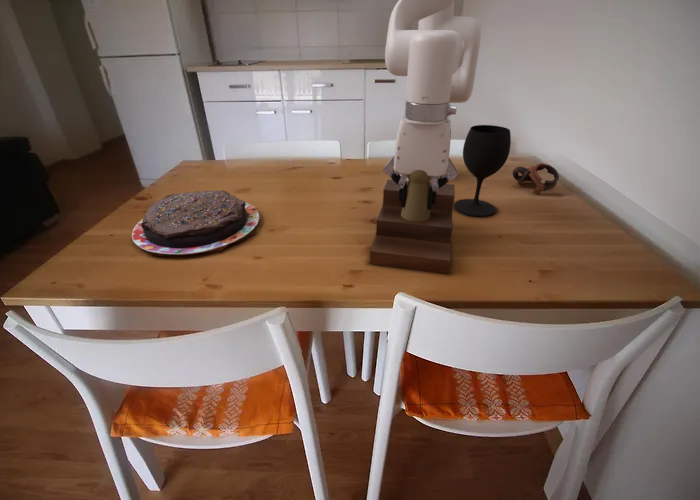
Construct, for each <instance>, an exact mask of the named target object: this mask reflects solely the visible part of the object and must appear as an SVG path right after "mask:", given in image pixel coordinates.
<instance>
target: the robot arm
mask: <svg viewBox="0 0 700 500" xmlns="http://www.w3.org/2000/svg"><path fill="white" fill-rule="evenodd" d="M455 2H456V0H397V2H396V4H395V5H394V7H393V9H392V11H391V14H390V16H389V21H388V25H387V26H388V27H387V33H386V40H385V49H384V63H385V66H386V69H387V71H388V73H390V74H391V75H393V76H397V77H406V89H405V90H406V91H405V102H404V103H405V104H404V116H403V117H401V118H400V121H399V124H398V128H397V134H396V140H395V148H394V154H393V156H391V158H390V159H389V160H388V161H387V163H386V164H385V165H384V167H383V168H382V172H383V173H385V174H386V175H387V176H388V177H390V178H391V180H393V181H394V182H395V183H396V184H397V185H398V187H399V188H400V189H399V202H402V204H401V207H405V200H406V191H407V183H406V181H409V179H408V178H407V177H408V175H409V174H411V173H412V172H413V171H415V170H422V171H425V172H426V173H427V175H428V176H431V180H430V183H431V187H430V189H429V198H428V206H427V209H428V210H431V204H432V205H435V200H436V192H437V191H438V189H439V188H441V187H442V186H443V185H445V184H448V183H449V182H450V181H453V180H454V179H456V178H458V176H459V171H458V169H457V168H456V167H455V165H454V164H453V162H452V160H451V158H450V151H451V140H452V124H451V123H452V122H451V120H450V119H448V117H450V116H452V115H456V114H457V108H458V105H457V106H453V105H451V104H462V103H463V104H464V103H466V102H467V101H469V99H470V98H471V96H472V93H473V90H474V86H475V85H474V84H475V78H476V71H477V64H478V59H479V53H480V46H481V38H482V25H481V22H480V20H479V19H478V18H477V17H475V16H470V15H460V16H459V15H458V16H457V15H455V13H454V12H455V11H454V10H455V4H456V3H455ZM417 22H418V26H417V29H408V28H409V27H411V26H412V25H413V24H415V23H417ZM447 171H448V172H447Z"/></svg>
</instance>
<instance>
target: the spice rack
mask: <svg viewBox="0 0 700 500" xmlns="http://www.w3.org/2000/svg"><path fill="white" fill-rule="evenodd" d="M406 183H407V185H408V181H407V180H406ZM430 187H431V182H430ZM399 189H400V188H399V187H398V185H397V184H396V183H395V182H394V181H393V180H392V179H390V178H388V179H387V180H386V183H385V185H384V187H383V193H382V194H383V195H382V206H381V207H380V211H379V213H378V215H377V218H376V225H375V226H376V227H375V228H376V229H375V230H376V231H375V237H374V240H373V243H372V245H371V247H370V250H369V264H370V265H376V266H384V267H392V268H400V269H406V270H407V269H408V270H415V271H423V272H431V273H439V274H449V269H450V263H451V240H452V235H453V233H452V232H453V208H454V204H455V195H456V193H455V184H452V183H446V184H445V185H443V186H442V187H441V188H439V189H438V191H437V192H436V200H435V205H432V204H431V210H430V218H429V219H428V220H426V221H421V222H414V221H409V220H406V219H404V218H403V217H402V216H401V212H402V207H401V204H402V202H399Z"/></svg>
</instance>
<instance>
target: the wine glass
mask: <svg viewBox="0 0 700 500" xmlns="http://www.w3.org/2000/svg"><path fill="white" fill-rule="evenodd" d="M511 138H512V136H511V129H510V128H508V127H504V126H499V125H494V124H493V125H492V124H478V125H473V126H471V127H470V128H469V130H468V132H467V135H466V137H465V139H464V143H463V147H462V158H463V163H464V165H465V167H466V169H467V170H468V171H469V173H470V174H471V175H472V176H474V178H475V179H476V187H475V193H474V197H473V198H466V199H459V200H457V201H456V202H454V203H453V208H454V209H455V211H457V212H458V213H460V214H462V215H464V216H468V217H475V218H486V217H487V218H488V217H490V216H493V215H494V214H496V207H495V206H494V205H493V204H492V203H490V202H487V201H485V200H480V193H481V188H482V184H483V182H484V181H485V180H486V179H487V178H489V177H491V176H493V175H494V174H496V173H497V172H499V171H500V170H501V169H502V168H503V167H504V165H505V164H506V162H507V160H508V158H509V156H510V151H511V144H512V139H511Z"/></svg>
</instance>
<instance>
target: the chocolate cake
mask: <svg viewBox="0 0 700 500" xmlns="http://www.w3.org/2000/svg"><path fill="white" fill-rule="evenodd" d="M259 221H260V213H259V211H258V209H257V208H256V207H255V206H254V205H252V204H250V203H248V202H246V201H245V200H243V199H240V198H238V197H236V196H235V195H233V194H232V193H230V192H229V191H227V190H202V191H201V190H199V191H198V190H197V191H190V192H189V191H188V192H182V193H172V194H168V195H166V196H164V197H163V198H161V199H159V200H157V201H155V202H154V203H151V204H150V205H149V208H147V211H146V212H145V214H144V216H143V218H142V219H140V220H139V221H138V222H137V224H136V225H134V227H133V229H132V231H131V239H132V242H133V243H134V244H135V245H136V246H137V247H139V248H140V249H142V250H143V251H147V253H148V254H152V255H154V256H157V257H169V256H186V255H187V256H188V255H196V254H204V253H216V252H222V251H223V250H224V249H225V248H227V247H228V246H229V245H231V244H236V243H240V242H241V241H243V240H246V239H247V238H249V237H250V236H254V231H255V229H256V227H257V226H258V224H259Z"/></svg>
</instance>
